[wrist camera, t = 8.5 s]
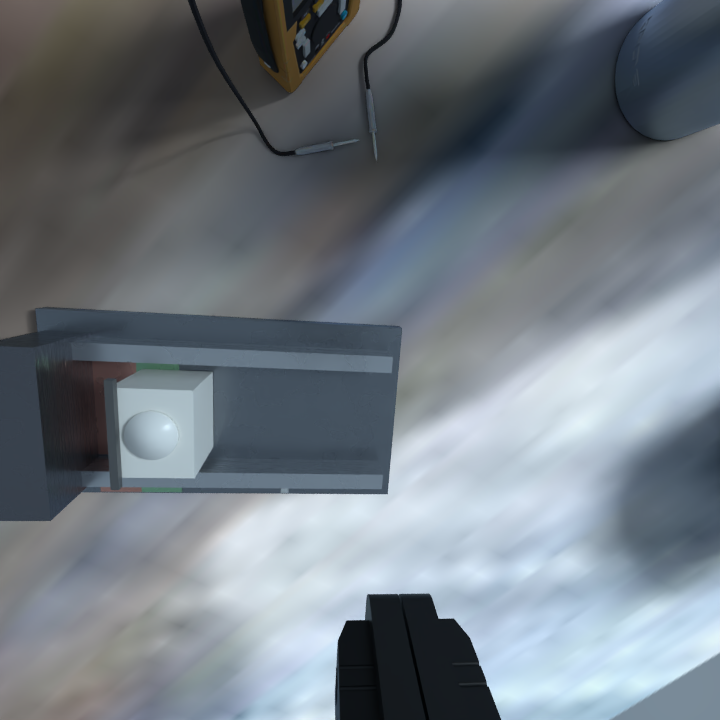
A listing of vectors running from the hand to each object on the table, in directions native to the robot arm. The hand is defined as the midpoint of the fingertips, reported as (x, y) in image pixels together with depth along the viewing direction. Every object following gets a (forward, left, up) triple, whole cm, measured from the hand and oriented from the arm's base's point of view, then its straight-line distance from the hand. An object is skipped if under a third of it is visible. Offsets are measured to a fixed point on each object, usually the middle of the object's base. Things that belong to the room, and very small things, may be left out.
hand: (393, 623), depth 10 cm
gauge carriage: (+12, +3, -22) cm, 26 cm away
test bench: (+8, +3, -24) cm, 25 cm away
